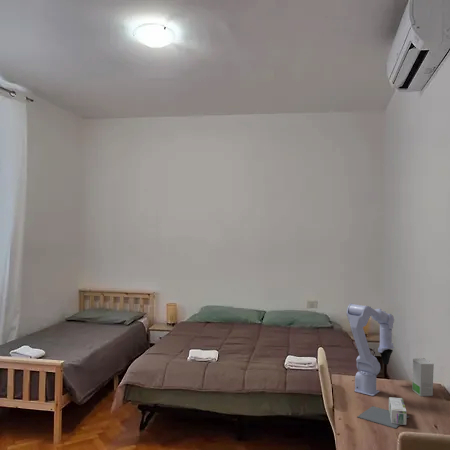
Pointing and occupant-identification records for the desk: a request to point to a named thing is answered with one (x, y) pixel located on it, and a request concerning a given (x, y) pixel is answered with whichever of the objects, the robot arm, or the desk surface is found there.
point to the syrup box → (397, 411)
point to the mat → (378, 416)
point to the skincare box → (422, 377)
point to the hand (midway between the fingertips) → (385, 363)
